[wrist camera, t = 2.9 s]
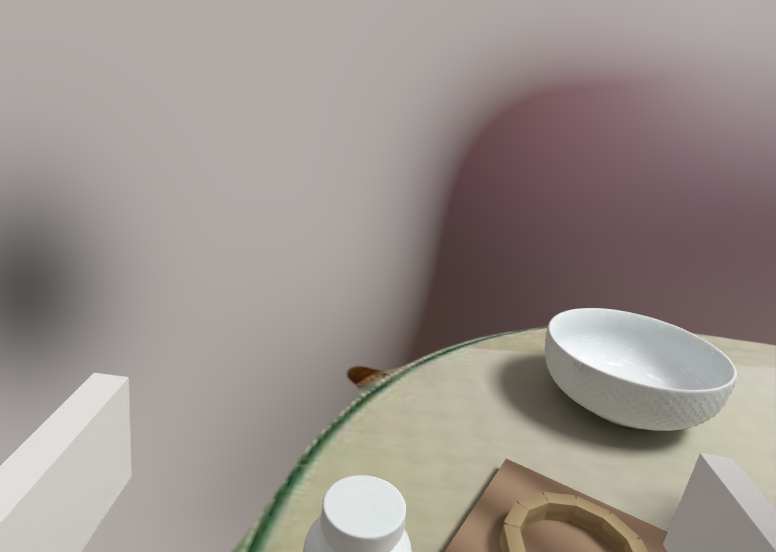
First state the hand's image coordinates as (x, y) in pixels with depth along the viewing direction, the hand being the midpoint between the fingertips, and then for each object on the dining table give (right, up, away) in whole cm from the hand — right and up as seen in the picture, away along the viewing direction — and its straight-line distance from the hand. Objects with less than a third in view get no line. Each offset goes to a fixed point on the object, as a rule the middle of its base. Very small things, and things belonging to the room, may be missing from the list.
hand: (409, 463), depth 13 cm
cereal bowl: (+23, -9, +43) cm, 49 cm away
